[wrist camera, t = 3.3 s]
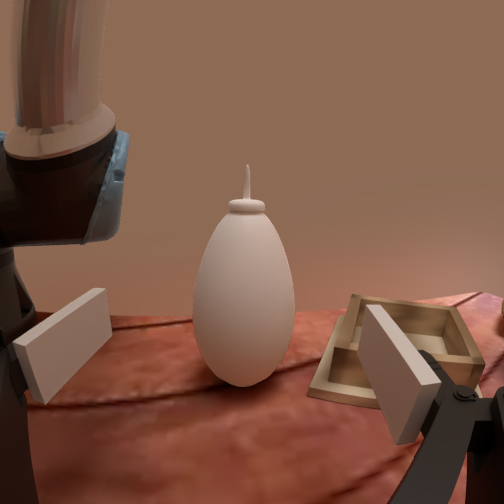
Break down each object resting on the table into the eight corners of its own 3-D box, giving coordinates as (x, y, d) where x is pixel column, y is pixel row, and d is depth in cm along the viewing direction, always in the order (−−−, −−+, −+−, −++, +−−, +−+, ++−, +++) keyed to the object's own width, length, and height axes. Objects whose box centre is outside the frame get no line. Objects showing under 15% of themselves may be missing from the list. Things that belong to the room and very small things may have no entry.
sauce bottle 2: (303, 378, 26) (322, 168, 22) (243, 421, 20) (251, 157, 16) (241, 348, 31) (245, 168, 27) (180, 377, 25) (172, 163, 21)
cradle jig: (307, 396, 23) (314, 351, 22) (338, 322, 37) (342, 289, 36) (481, 416, 17) (501, 373, 16) (454, 337, 31) (462, 304, 30)
